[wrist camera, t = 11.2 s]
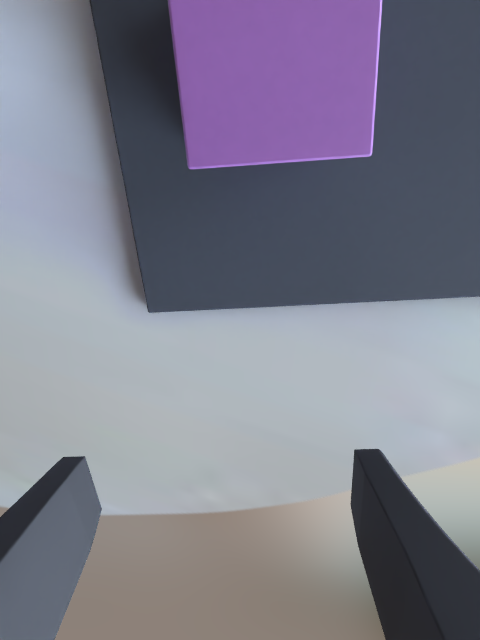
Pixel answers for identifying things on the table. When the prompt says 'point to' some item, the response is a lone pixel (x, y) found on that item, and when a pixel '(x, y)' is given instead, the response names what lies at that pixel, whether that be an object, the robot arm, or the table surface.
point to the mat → (306, 177)
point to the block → (275, 79)
